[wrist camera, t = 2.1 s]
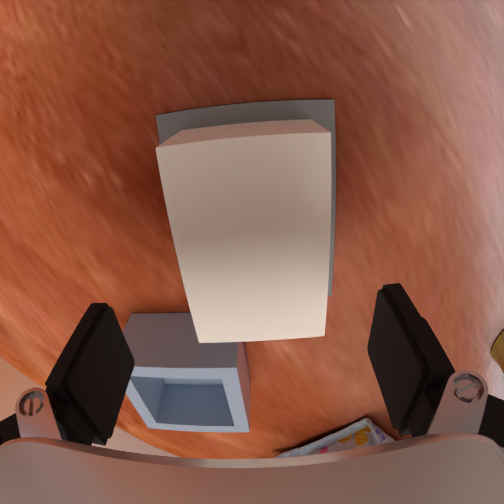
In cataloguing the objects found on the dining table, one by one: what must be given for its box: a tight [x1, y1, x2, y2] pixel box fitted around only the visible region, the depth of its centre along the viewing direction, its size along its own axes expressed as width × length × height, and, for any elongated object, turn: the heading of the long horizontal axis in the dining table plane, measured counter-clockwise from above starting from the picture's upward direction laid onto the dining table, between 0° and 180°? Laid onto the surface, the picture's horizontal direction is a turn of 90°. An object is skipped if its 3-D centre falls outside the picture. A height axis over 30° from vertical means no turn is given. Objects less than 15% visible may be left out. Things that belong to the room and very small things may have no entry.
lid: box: [155, 119, 331, 343], centre depth 15 cm, size 10×6×4 cm, turn 5°
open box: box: [123, 312, 251, 432], centre depth 21 cm, size 8×8×5 cm
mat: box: [156, 99, 336, 296], centre depth 17 cm, size 12×9×1 cm
